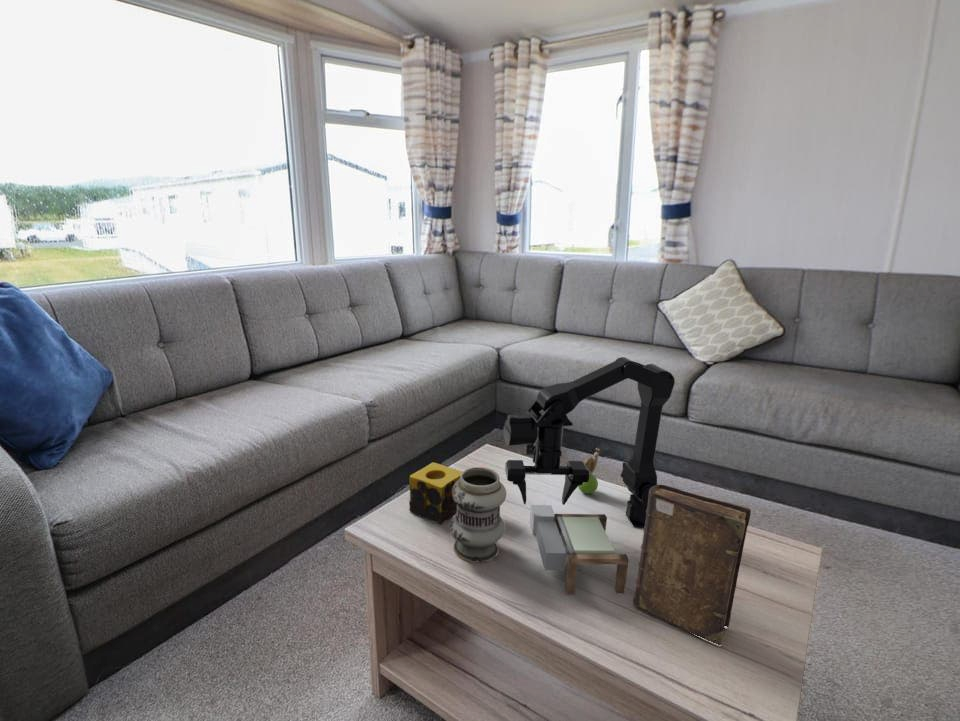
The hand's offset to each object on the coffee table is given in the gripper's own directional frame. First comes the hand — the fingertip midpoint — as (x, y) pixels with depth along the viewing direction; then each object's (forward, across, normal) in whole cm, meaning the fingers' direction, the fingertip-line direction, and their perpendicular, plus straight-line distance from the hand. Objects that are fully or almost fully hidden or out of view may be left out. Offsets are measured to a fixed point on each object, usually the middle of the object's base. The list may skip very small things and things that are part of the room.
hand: (543, 503), depth 123 cm
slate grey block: (+7, 0, 0) cm, 7 cm away
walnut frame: (+7, -7, +14) cm, 17 cm away
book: (+7, -21, +29) cm, 36 cm away
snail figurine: (+7, -16, -18) cm, 25 cm away
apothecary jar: (+7, +16, +8) cm, 19 cm away
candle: (+7, +25, -8) cm, 27 cm away
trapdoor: (+3, -4, +15) cm, 15 cm away
